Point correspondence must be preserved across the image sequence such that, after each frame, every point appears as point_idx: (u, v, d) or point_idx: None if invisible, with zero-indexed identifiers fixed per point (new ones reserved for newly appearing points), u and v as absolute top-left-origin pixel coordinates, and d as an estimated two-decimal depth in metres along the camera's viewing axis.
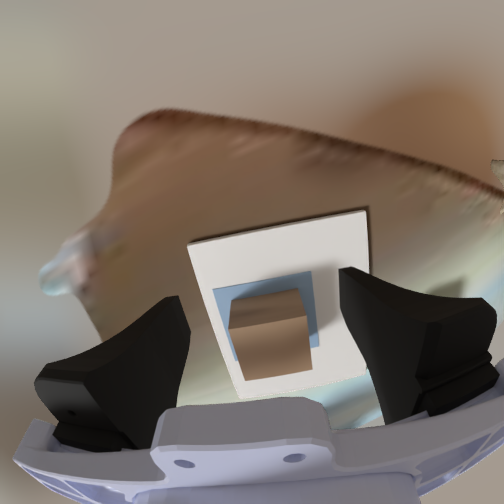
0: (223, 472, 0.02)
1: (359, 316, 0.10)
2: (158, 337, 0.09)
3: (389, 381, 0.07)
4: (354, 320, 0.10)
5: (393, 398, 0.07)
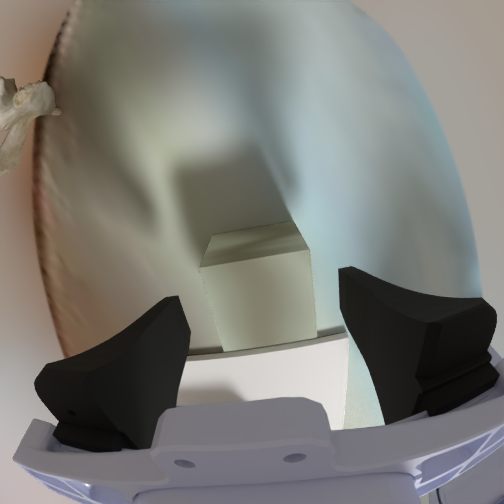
0: (223, 472, 0.02)
1: (359, 316, 0.10)
2: (158, 337, 0.09)
3: (389, 381, 0.07)
4: (354, 320, 0.10)
5: (393, 398, 0.07)
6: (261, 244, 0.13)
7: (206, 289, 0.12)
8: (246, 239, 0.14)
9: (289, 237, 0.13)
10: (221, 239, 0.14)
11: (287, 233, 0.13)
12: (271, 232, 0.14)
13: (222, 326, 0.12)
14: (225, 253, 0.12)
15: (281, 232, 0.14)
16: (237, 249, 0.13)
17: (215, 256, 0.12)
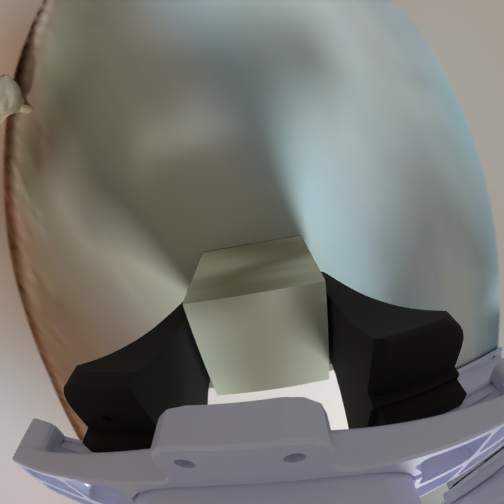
0: (223, 472, 0.02)
1: None
2: (191, 334, 0.09)
3: (350, 392, 0.07)
4: None
5: (354, 410, 0.07)
6: (261, 270, 0.10)
7: (193, 329, 0.09)
8: (243, 261, 0.11)
9: (297, 261, 0.10)
10: (213, 260, 0.12)
11: (294, 254, 0.11)
12: (275, 253, 0.11)
13: (214, 369, 0.10)
14: (216, 283, 0.10)
15: (286, 253, 0.11)
16: (231, 277, 0.10)
17: (204, 286, 0.10)
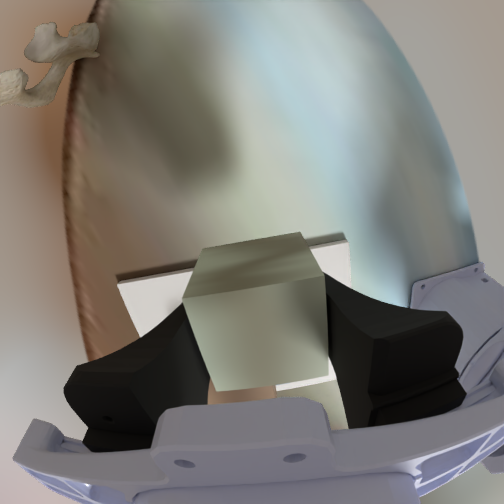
0: (223, 472, 0.02)
1: None
2: (191, 334, 0.09)
3: (350, 392, 0.07)
4: None
5: (354, 410, 0.07)
6: (261, 265, 0.10)
7: (192, 324, 0.09)
8: (242, 257, 0.11)
9: (297, 256, 0.10)
10: (212, 256, 0.12)
11: (294, 250, 0.11)
12: (274, 248, 0.11)
13: (213, 365, 0.10)
14: (215, 278, 0.10)
15: (286, 248, 0.11)
16: (230, 272, 0.10)
17: (203, 281, 0.10)
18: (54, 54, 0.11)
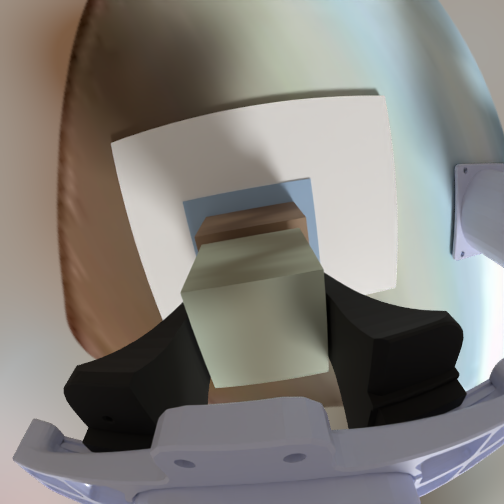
0: (223, 472, 0.02)
1: None
2: (191, 334, 0.09)
3: (350, 392, 0.07)
4: None
5: (354, 410, 0.07)
6: (260, 260, 0.10)
7: (190, 318, 0.09)
8: (241, 252, 0.11)
9: (296, 251, 0.10)
10: (211, 251, 0.12)
11: (293, 245, 0.11)
12: (273, 244, 0.11)
13: (212, 361, 0.10)
14: (214, 273, 0.10)
15: (285, 243, 0.11)
16: (229, 267, 0.10)
17: (202, 276, 0.10)
18: None
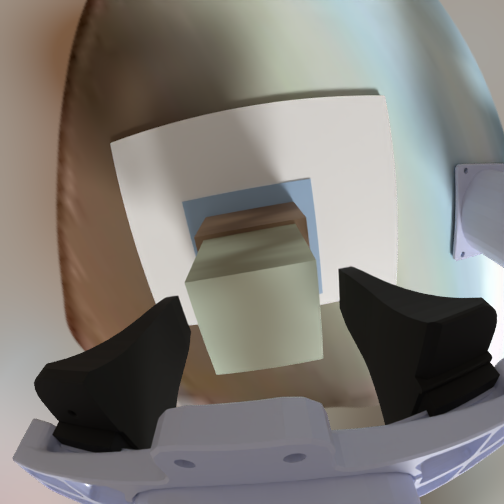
0: (223, 472, 0.02)
1: (359, 316, 0.10)
2: (158, 337, 0.09)
3: (389, 381, 0.07)
4: (354, 320, 0.10)
5: (393, 398, 0.07)
6: (258, 253, 0.11)
7: (194, 307, 0.10)
8: (241, 246, 0.12)
9: (291, 244, 0.11)
10: (213, 246, 0.12)
11: (289, 239, 0.11)
12: (270, 238, 0.12)
13: (214, 348, 0.11)
14: (216, 264, 0.10)
15: (281, 238, 0.12)
16: (229, 259, 0.11)
17: (204, 267, 0.10)
18: None
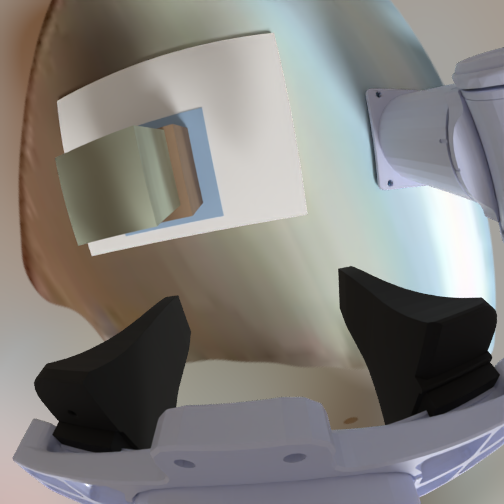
0: (223, 472, 0.02)
1: (359, 316, 0.10)
2: (158, 337, 0.09)
3: (389, 381, 0.07)
4: (354, 320, 0.10)
5: (393, 398, 0.07)
6: None
7: (60, 177, 0.11)
8: None
9: None
10: None
11: None
12: None
13: (73, 215, 0.11)
14: None
15: None
16: None
17: None
18: None
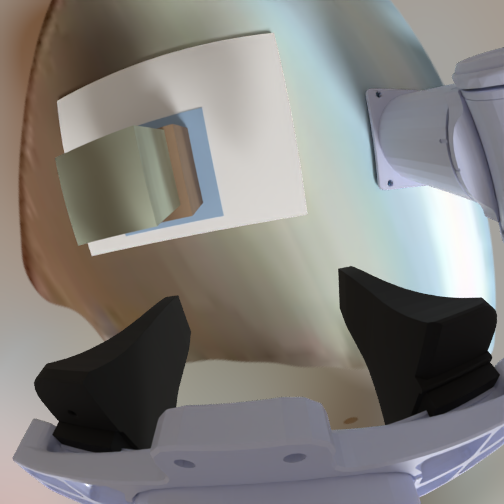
0: (223, 472, 0.02)
1: (359, 316, 0.10)
2: (158, 337, 0.09)
3: (389, 381, 0.07)
4: (354, 320, 0.10)
5: (393, 398, 0.07)
6: None
7: (60, 177, 0.11)
8: None
9: None
10: None
11: None
12: None
13: (73, 215, 0.11)
14: None
15: None
16: None
17: None
18: None
